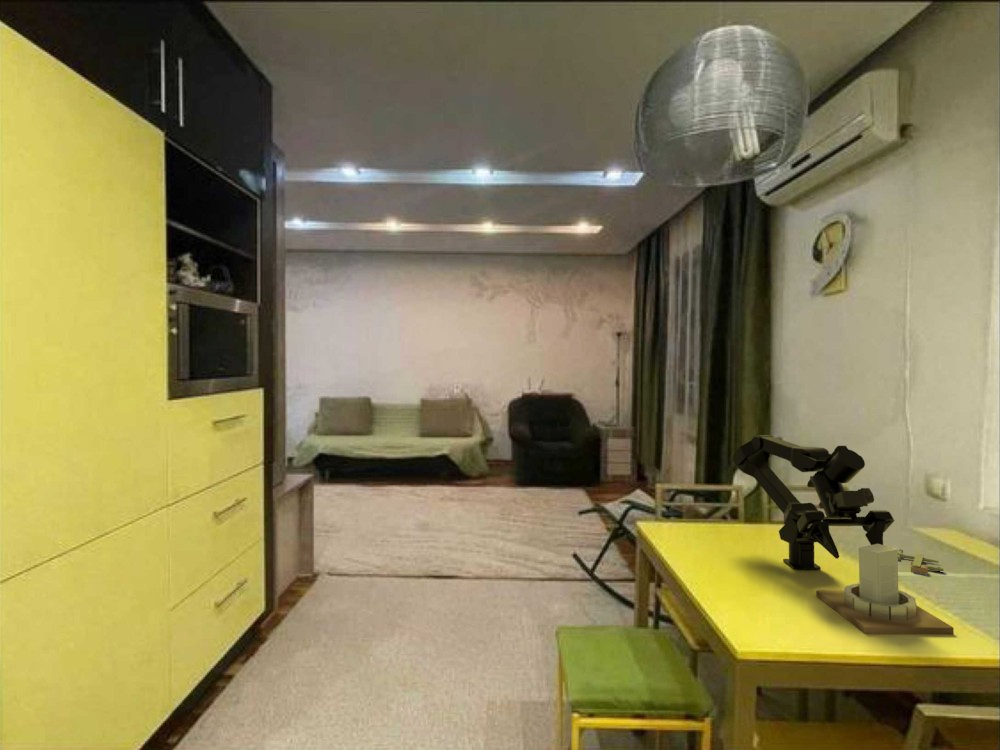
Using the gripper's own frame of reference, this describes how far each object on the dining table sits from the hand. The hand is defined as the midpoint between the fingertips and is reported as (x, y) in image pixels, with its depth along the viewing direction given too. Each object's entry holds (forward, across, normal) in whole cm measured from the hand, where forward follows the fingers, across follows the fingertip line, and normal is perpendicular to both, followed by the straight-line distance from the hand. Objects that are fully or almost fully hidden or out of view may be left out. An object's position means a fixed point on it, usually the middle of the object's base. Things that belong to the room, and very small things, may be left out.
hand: (859, 557), depth 122 cm
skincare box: (+10, 0, +1) cm, 10 cm away
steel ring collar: (+10, 0, +1) cm, 10 cm away
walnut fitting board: (+11, 0, +2) cm, 11 cm away
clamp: (-9, +27, +23) cm, 36 cm away
